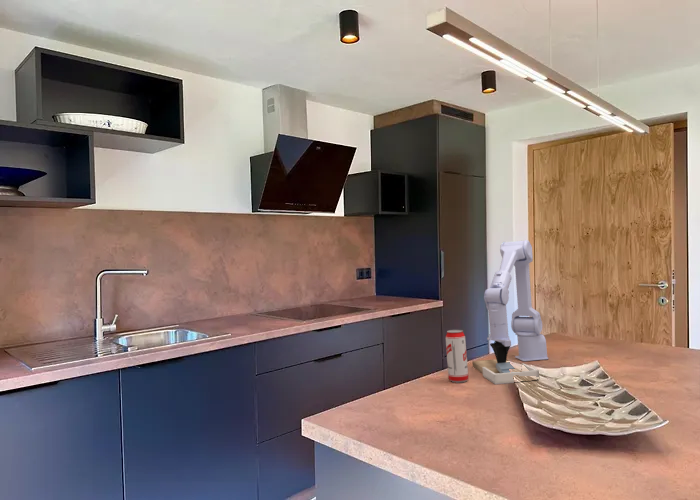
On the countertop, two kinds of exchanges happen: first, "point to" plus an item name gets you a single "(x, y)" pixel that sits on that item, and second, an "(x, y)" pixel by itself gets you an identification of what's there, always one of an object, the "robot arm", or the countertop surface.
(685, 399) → the countertop surface
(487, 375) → the tray
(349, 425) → the countertop surface
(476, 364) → the board
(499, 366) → the tile rear
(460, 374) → the beer can
